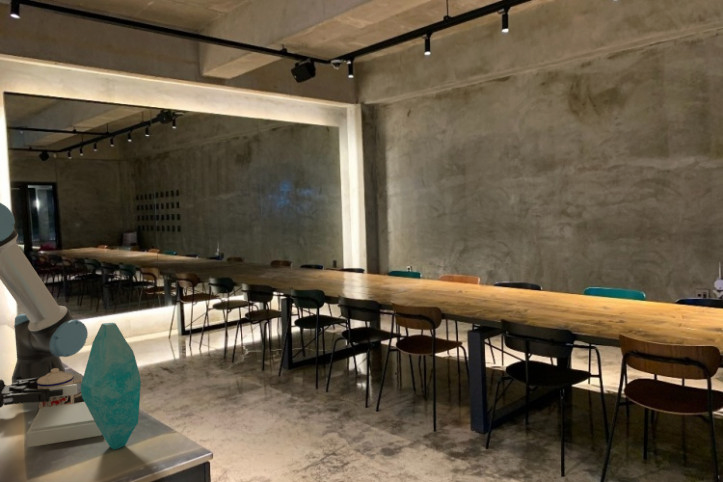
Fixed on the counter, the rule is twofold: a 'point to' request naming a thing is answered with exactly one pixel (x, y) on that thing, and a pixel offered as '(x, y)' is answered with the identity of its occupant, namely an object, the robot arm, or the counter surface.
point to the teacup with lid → (55, 380)
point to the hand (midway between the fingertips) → (79, 383)
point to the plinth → (62, 424)
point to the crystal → (112, 385)
